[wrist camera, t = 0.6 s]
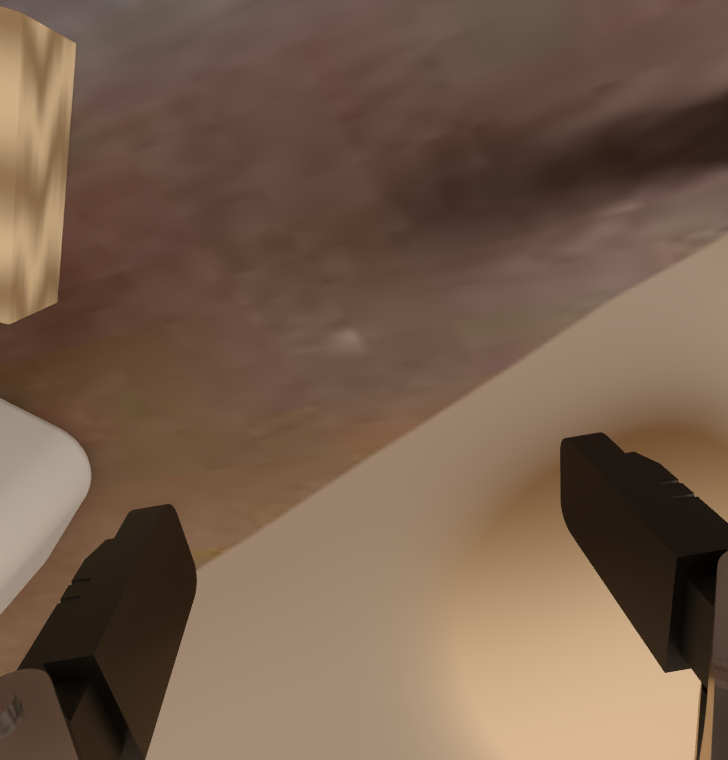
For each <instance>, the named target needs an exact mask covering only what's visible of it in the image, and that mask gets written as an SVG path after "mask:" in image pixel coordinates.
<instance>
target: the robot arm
mask: <svg viewBox="0 0 728 760" xmlns="http://www.w3.org/2000/svg"><path fill="white" fill-rule="evenodd" d="M560 467H561V468H560V473H561V508H562V513H563V517H564V520H565V523H566V525H567V528H568V530H569V532H570V533H571V535H572V536H573V538H574V539H575V541H576V542H577V543H578V545H579V547H580V548H581V550H582V551H583V552H584V554H585V555H586V557H587V558H588V560H589V561H590V563H591V564H592V566H593V567H594V569H595V570H596V572H597V573H598V575H599V576H600V578H601V579H602V580H603V582H604V583H605V585H606V586H607V588H608V589H609V591H610V592H611V594H612V595H613V597H614V598H615V600H616V601H617V603H618V604H619V605H620V607H621V609H622V610H623V611H624V613H625V614H626V616H627V617H628V619H629V620H630V622H631V623H632V625H633V626H634V628H635V629H636V631H637V632H638V634H639V635H640V636H641V638H642V639H643V641H644V643H645V644H646V645H647V647H648V648H649V650H650V651H651V653H652V654H653V656H654V657H655V659H656V660H657V662H658V663H659V665H660V666H661V668H662V669H663V671H664V672H665V673H667V672H673V671H678V670H684V669H690V668H691V669H692V670H693V671H694V673H695V674H696V675H697V677H698V678H699V679H700V681H701V687H700V694H699V706H698V720H697V733H696V746H695V760H728V523H727V522H726V521H725V520H724V519H723V518H721V517H720V516H719V515H718V514H717V513H716V512H715V511H713V510H712V509H711V508H710V507H708V505H707V504H705V503H704V502H703V501H702V500H701V499H700V498H699V497H695V496H694V493H693V492H692V491H690V490H689V489H688V488H687V487H686V486H685V485H684V484H682V483H679V481H678V479H677V478H676V477H675V476H673V475H672V474H671V473H670V472H669V471H668V470H667V469H665V468H664V467H663V466H662V465H661V464H659V463H657V462H655V461H653V460H651V459H649V458H647V457H644V456H642V455H640V454H638V453H636V452H630V453H624V451H622V450H621V449H620V448H619V447H618V446H617V445H616V444H615V443H614V442H613V441H612V440H611V439H610V438H609V437H608V436H607V435H605V434H604V433H601V432H600V433H593V434H587V435H581V436H575V437H569V438H565V439H563V440H562V442H561V447H560ZM196 585H197V578H196V568H195V564H194V561H193V558H192V555H191V552H190V549H189V546H188V543H187V541H186V538H185V535H184V532H183V529H182V526H181V523H180V521H179V518H178V515H177V512H176V510H175V508H174V507H173V506H172V505H170V504H165V505H160V506H154V507H148V508H142V509H136V510H132V511H130V512H129V513H128V515H127V517H126V518H125V520H124V522H123V524H122V525H121V527H120V529H119V531H118V532H117V534H116V536H115V538H114V539H108V540H105V541H104V542H103V543H102V544H101V545H100V546H99V547H98V548H97V549H96V550H95V551H94V552H93V553H91V554H90V555H89V556H88V557H87V558H86V559H85V560H84V562H83V563H82V565H81V567H80V568H79V570H78V571H77V573H76V575H75V576H74V578H73V580H72V585H69V586H68V588H67V589H66V591H65V593H64V594H63V596H62V597H61V599H60V600H61V603H60V604H57V606H56V607H55V609H54V610H53V612H52V614H51V615H50V617H49V619H48V620H47V622H46V623H45V625H44V627H43V628H42V630H41V632H40V633H39V635H38V637H37V638H36V640H35V641H34V643H33V645H32V646H31V648H30V650H29V651H28V653H27V654H26V656H25V658H24V659H23V661H22V663H21V664H20V666H19V667H18V669H17V671H14V672H11V673H8V674H6V675H4V676H1V677H0V760H145V758H146V755H147V752H148V748H149V745H150V742H151V739H152V735H153V732H154V729H155V725H156V722H157V719H158V716H159V712H160V709H161V706H162V702H163V699H164V696H165V692H166V689H167V686H168V682H169V679H170V676H171V673H172V669H173V666H174V663H175V660H176V656H177V653H178V650H179V647H180V643H181V640H182V637H183V633H184V630H185V627H186V623H187V620H188V617H189V613H190V610H191V607H192V604H193V600H194V597H195V593H196Z"/></svg>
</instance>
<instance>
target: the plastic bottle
mask: <svg viewBox="0 0 728 760" xmlns="http://www.w3.org/2000/svg"><path fill="white" fill-rule="evenodd" d="M90 483H91V468H90V463H89V460H88V457H87V455H86V453H85V451H84V450H83V448H82V447H81V446H80V444H79V443H78V442H77V441H76V440H75V439H74V438H73V437H72V436H71V435H69V434H68V433H67V432H65V431H64V430H62V429H60V428H58V427H57V426H55V425H53V424H51V423H49V422H47V421H45V420H43V419H41V418H39V417H37V416H35V415H33V414H31V413H29V412H27V411H25V410H23V409H21V408H19V407H17V406H15V405H13V404H11V403H9V402H7V401H5V400H3V399H1V398H0V614H1V613H2V612H3V611H4V610H5V608H6V607H7V606H8V605H9V604H10V603H11V601H12V600H13V599H14V598H15V597H16V596H17V594H18V593H19V592H20V591H21V590H22V589H23V587H24V586H25V585H26V584H27V583H28V582H29V580H30V579H31V578H32V577H33V576H34V575H35V573H36V572H37V571H38V570H39V569H40V568H41V566H42V565H43V564H44V563H45V562H46V560H47V559H48V557H49V555H50V554H51V552H52V551H53V549H54V547H55V546H56V544H57V542H58V541H59V539H60V537H61V536H62V534H63V533H64V531H65V529H66V528H67V526H68V524H69V523H70V521H71V519H72V518H73V516H74V515H75V513H76V511H77V510H78V508H79V506H80V505H81V503H82V501H83V500H84V498H85V496H86V495H87V493H88V490H89V487H90Z"/></svg>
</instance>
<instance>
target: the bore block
mask: <svg viewBox="0 0 728 760" xmlns="http://www.w3.org/2000/svg"><path fill="white" fill-rule="evenodd" d="M75 55H76V43H74V42H72V41H70V40H69V39H67V38H65V37H63V36H62V35H60V34H58V33H56V32H54V31H53V30H51V29H49V28H47V27H46V26H44V25H42V24H40V23H39V22H37V21H35V20H33V19H32V18H30V17H28V16H26V15H25V14H23V13H20V12H17V11H13V10H10V9H7V8H4V7H1V6H0V322H1V323H5V324H11V323H13V322H16V321H18V320H20V319H22V318H24V317H26V316H29V315H31V314H33V313H35V312H37V311H39V310H42V309H44V308H46V307H48V306H50V305H53V304H55V303H57V301H58V287H59V273H60V260H61V246H62V232H63V219H64V205H65V192H66V178H67V164H68V151H69V137H70V124H71V110H72V96H73V83H74V69H75Z"/></svg>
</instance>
